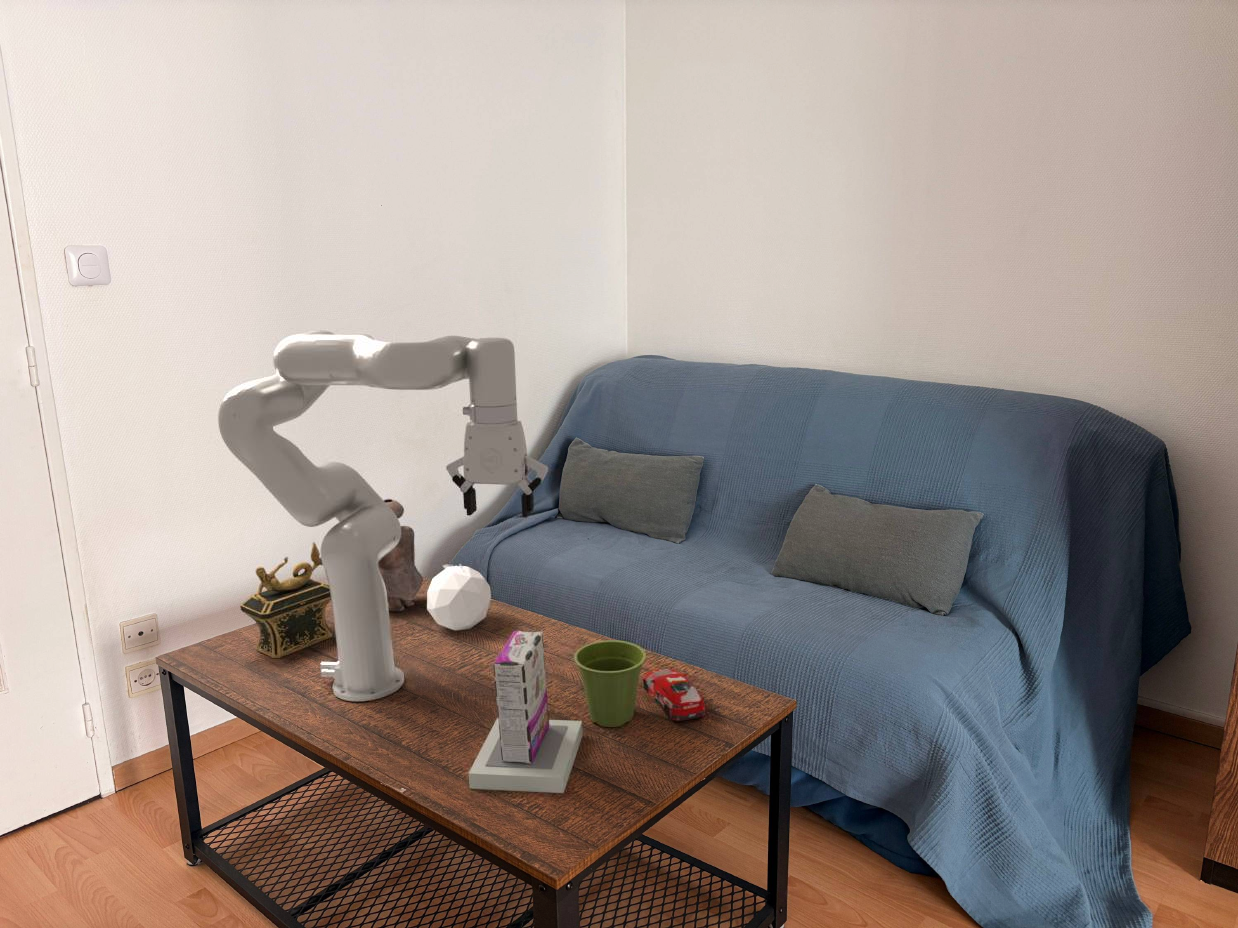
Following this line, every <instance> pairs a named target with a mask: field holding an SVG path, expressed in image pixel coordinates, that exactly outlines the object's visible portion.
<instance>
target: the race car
mask: <svg viewBox="0 0 1238 928" xmlns="http://www.w3.org/2000/svg"><path fill="white" fill-rule="evenodd" d="M686 676H687V673H679V671H677V670H674V669H671V668H655V669H652V670H650V671H649V672H647V673H646V674H645V675H644V677H643V679H642V681H643V687H644V691H646V693H648V694H649V695H650V697H652V699H653V700H654V701H655V703H656V704H657V705H658V706H659V707H660V708H661V709H662V711H664V714H665V716H667V718H668V719H671V720H674V721H677V722H680V721H683V722H684V721H686V720H687V721H688V720H691V719H696V718H697V719H698V718H702V717H704V716H705V715H706V704H705V701H704V698H703V696H702V694H701V693H700V691H698V690H697V688H696V687H695V686H694V685H693V683H692V682H691V681H690V680H689V678H688V677H686Z"/></svg>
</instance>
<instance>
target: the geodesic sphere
mask: <svg viewBox="0 0 1238 928" xmlns="http://www.w3.org/2000/svg"><path fill="white" fill-rule="evenodd" d="M442 567H443V570H442V571H441V572H439V573H438V574H437V575H436V576H434V577H432V580H431V582H430V585H429V587H428V589H427V592H426V602H427V603H426V610H427V611H428V612H429V614H430V615H431V616H432V618H433V620H434V621H435V623H437V625H439V626H442V627H444V628H448V629H449V630H453V631H463V630H470V629H472V628H473V627H474V626H476V625H477V624H479V623H480V622H481V621H482V620H484V619H486V616H487V615H488V614H487V613H488V610H489V608H490V604H491V600H492V594H491V586H490V584H489V583H488V581H487V580H486V579H485V577H484V576H483V574H481V573H480V572H479V571H477V570H475V569H473V568H471V567H469V566H466V565H465V566H463V565H461V564H459V565H457V564H455V566H454V564H453V563H452V564H451V563H449V564H447V563H445V564H442Z"/></svg>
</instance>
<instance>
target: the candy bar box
mask: <svg viewBox="0 0 1238 928" xmlns="http://www.w3.org/2000/svg"><path fill="white" fill-rule="evenodd" d="M543 635H544V632H543V631H532V630H525V631H523V630H513V632H512V634H511V635H510V637H509V638H508V640H507V641H506V643H505V644H504V646H503V647H502V649H501V651H500V652H499V653H498V655H497V657H496V658H495V660H494V661H493V663H492V664H493V666H492V667H493V674H494V675H493V676H494V687H495V697H496V698H495V699H496V706H497V707H496V709H497V718H498V721H499V732H500V744H501V755H502V762H507V763H524V764H532V762H533V760H534V758H535V756H536V753H537V751H538V749H539V747H540V745H541V743H542V741H543V738H544V736H545V734H546V732H547V730H548V728H549V726H550V724H549V720H550V719H549V718H550V716H549V713H550V712H549V701H548V689H547V678H546V677H547V675H546V674H547V672H546V661H545V648H544V647H545V646H544V636H543Z"/></svg>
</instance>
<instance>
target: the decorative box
mask: <svg viewBox="0 0 1238 928" xmlns="http://www.w3.org/2000/svg"><path fill="white" fill-rule="evenodd" d="M311 547H312V548H311V552H310V561H312V562H313V565H311V564H310V563H309V562H307V561H301V562H299V563H297V564H296V565H295V566H294V568H293V569H292V576H293V577H290V578H286V579H284V580H281V582H280V581H279V579H278V578H277V576H275V574H277V572H278V571H279V570H280V569H281V568H283V567H284V566H285V565H286V564H288V560H289V556H286V557H284V558H283V560H284V562H281V563H280V564H278V566H277V565H276V567H275V568H274V569H273V570H271V571H270V572H269V573H267V571H266V569H265V568H264V567H262V566H258V567H256V568H255V574H256V576H257V577H258V579H259V580H260V583H259V585H258V590H257V593H254V594H252V595H251V596H250V597H249V598H247V599H246V600H245V601H244V602H242V603H241V604H240V606H239V607H240V611H242V613H244V614H246V615H247V616H248V617H250V619H252V621H253V620H254V621H255V624H257V627H258V628H259V638H258V639H259V640H258V642H257V645H256V648H255V650H256V651H258V652H260V653H262V654H264V655H267V656H268V657H271V658H273V659H279V658H282V657H286V656H288V655H291V654H294V653H296V652H297V651H300V650H303V649H305V648H308V647H311V646H313V645H316V644H318V643H321V642H323V641H325V640H328V639H331V638H332V637H333V635H334V634H333V632H332V630H331V628H330V627H329V625H328V623H327V621H326V617H325V615H326V614H325V613H326V608H327V605H329V603H330V602H331V594H330V588H329V584H327V583H324V582H321V581H319V580H317V579H313V578H311V576H312V575H313V572H314V571H315V570H316V569H317V568H318V567H319V566H323V563H322V559H321V552H320V550H319V549H318V546H317V544H316V542H314V541H313V542H312V546H311ZM302 570H304V571H303V572H302V573H300V572H301V571H302ZM299 573H300V574H299ZM263 588H265V590H263Z"/></svg>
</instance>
